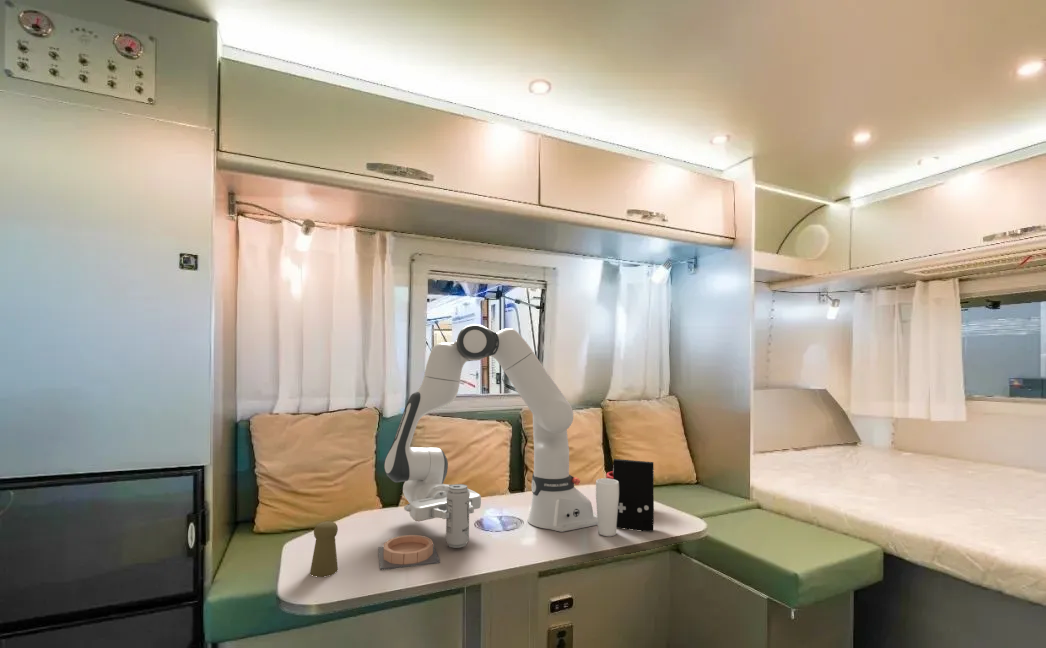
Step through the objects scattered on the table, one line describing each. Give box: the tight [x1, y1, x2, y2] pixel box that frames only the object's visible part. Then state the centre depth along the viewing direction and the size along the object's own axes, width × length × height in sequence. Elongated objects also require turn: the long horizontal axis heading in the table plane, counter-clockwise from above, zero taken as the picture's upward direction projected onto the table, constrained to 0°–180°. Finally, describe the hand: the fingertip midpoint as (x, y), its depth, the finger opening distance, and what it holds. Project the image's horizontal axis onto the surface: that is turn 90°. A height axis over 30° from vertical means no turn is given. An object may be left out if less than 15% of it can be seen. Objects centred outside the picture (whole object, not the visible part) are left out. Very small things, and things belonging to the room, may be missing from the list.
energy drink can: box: [445, 483, 470, 549], centre depth 127 cm, size 6×6×15 cm
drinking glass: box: [595, 477, 619, 537], centre depth 139 cm, size 7×7×15 cm
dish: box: [377, 534, 441, 571], centre depth 121 cm, size 14×13×3 cm
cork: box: [309, 521, 339, 578], centre depth 112 cm, size 6×6×11 cm
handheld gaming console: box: [612, 458, 655, 532], centre depth 145 cm, size 12×5×20 cm, turn 72°
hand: (459, 513), depth 127 cm, fingers closed on energy drink can, 6 cm apart
